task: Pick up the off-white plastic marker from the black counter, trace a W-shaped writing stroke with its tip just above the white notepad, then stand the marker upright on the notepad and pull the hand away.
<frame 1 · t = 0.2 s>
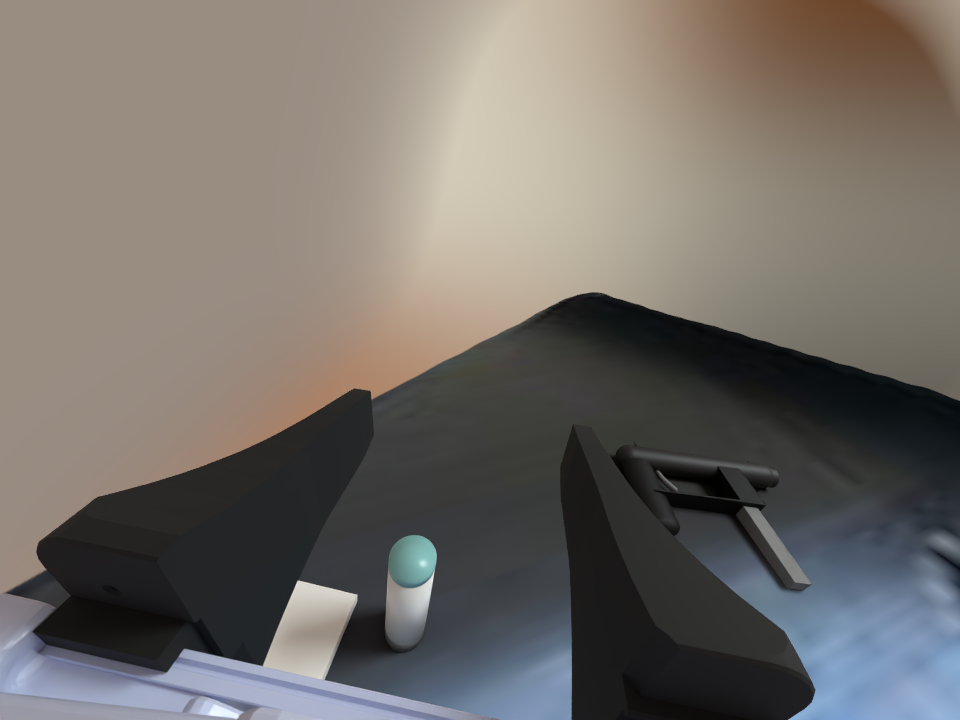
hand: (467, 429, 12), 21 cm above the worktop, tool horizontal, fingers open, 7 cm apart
door handle: (711, 515, 40), on the worktop
marker: (404, 628, 25), on the worktop
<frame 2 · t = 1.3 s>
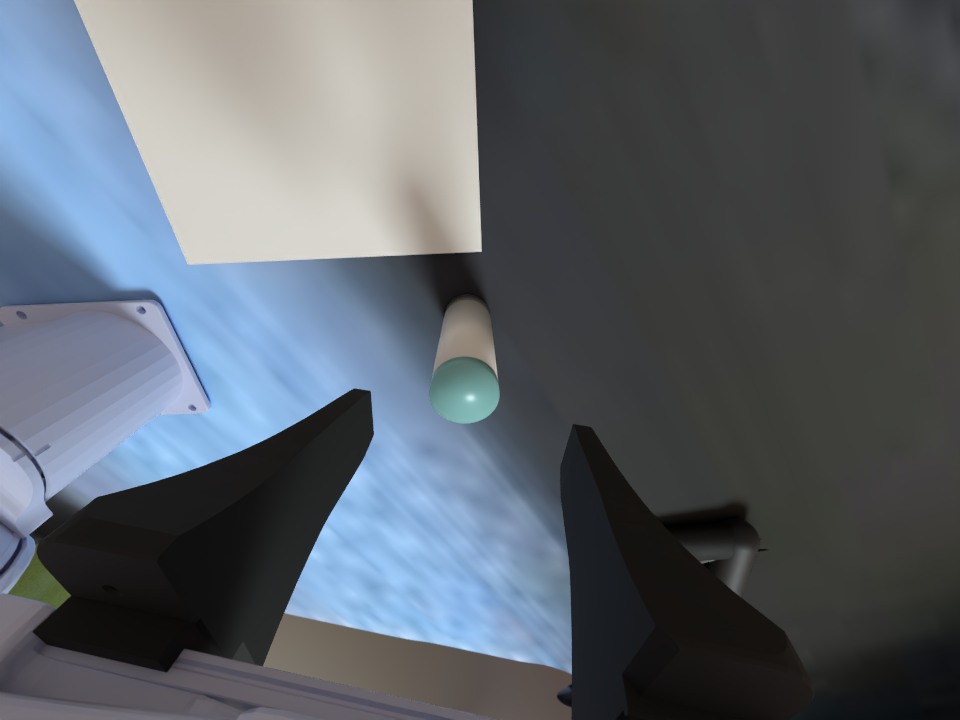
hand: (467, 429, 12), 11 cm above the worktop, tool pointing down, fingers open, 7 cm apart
door handle: (656, 577, 36), on the worktop
marker: (467, 316, 22), on the worktop
notepad: (310, 128, 17), on the worktop
plant pot: (101, 540, 32), on the worktop
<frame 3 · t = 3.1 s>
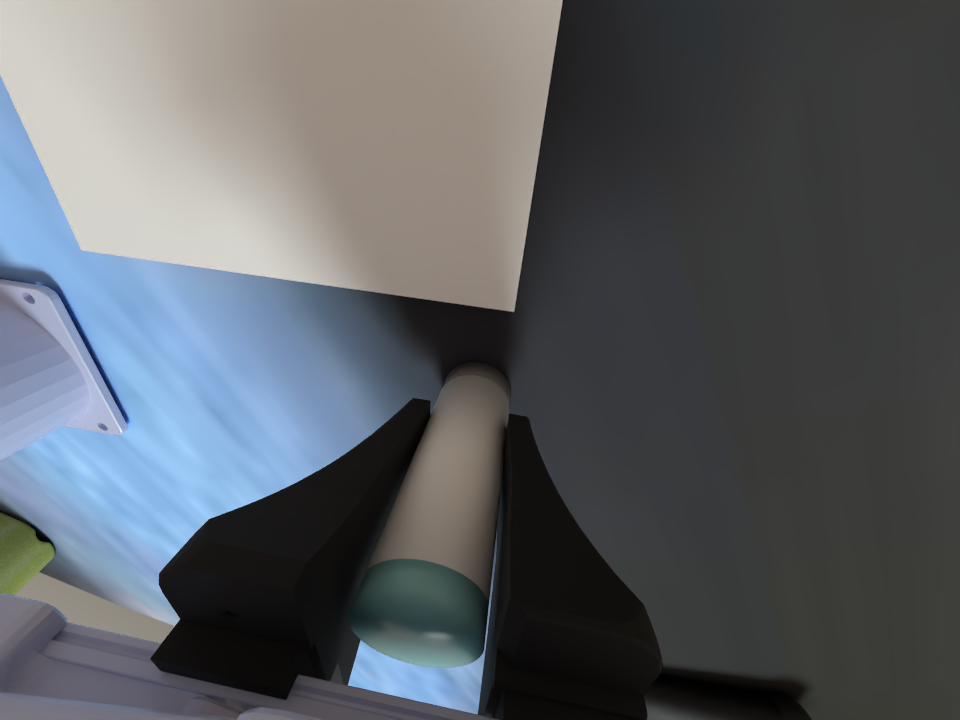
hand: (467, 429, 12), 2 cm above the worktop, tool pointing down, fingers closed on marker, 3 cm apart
door handle: (657, 717, 29), on the worktop
marker: (477, 390, 15), on the worktop, touching gripper
notepad: (267, 66, 10), on the worktop
plant pot: (20, 531, 27), on the worktop
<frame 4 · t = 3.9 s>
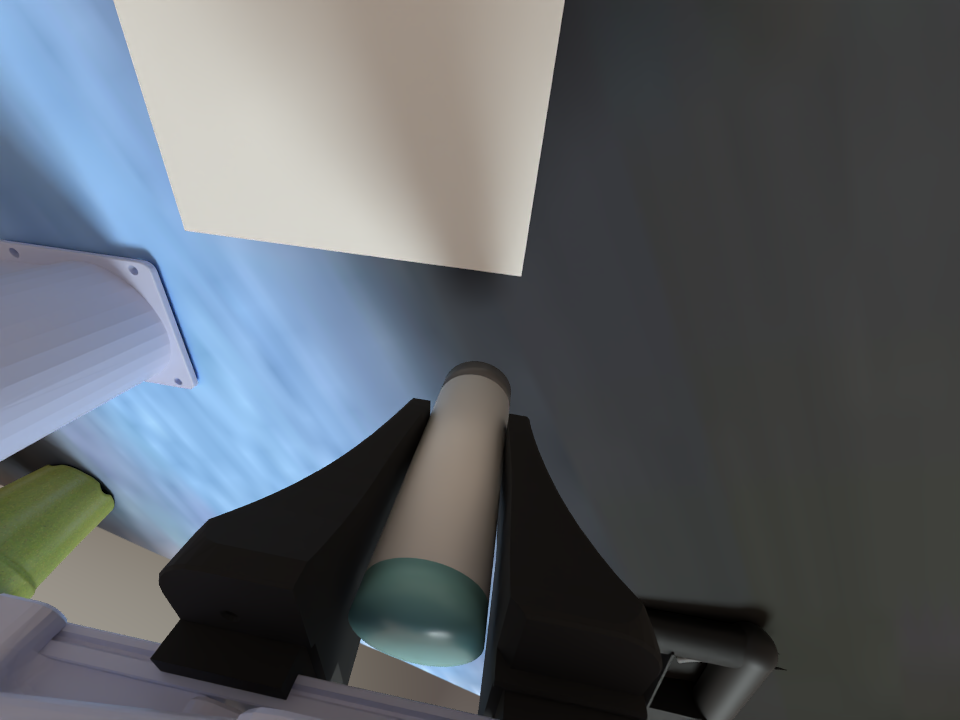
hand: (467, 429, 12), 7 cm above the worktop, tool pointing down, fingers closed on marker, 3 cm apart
door handle: (644, 656, 33), on the worktop
marker: (477, 390, 15), point 4 cm above the worktop, touching gripper
notepad: (342, 92, 14), on the worktop
plant pot: (84, 485, 31), on the worktop
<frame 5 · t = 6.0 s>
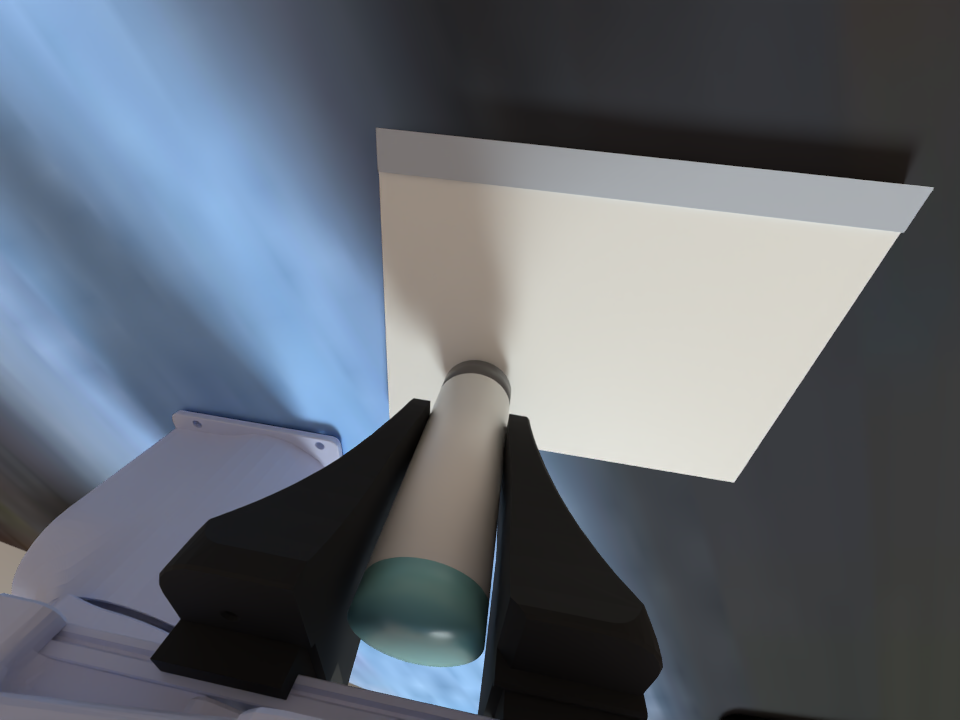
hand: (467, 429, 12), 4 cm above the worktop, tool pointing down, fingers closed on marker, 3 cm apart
marker: (477, 389, 15), point 1 cm above the worktop, touching gripper
notepad: (585, 328, 14), on the worktop
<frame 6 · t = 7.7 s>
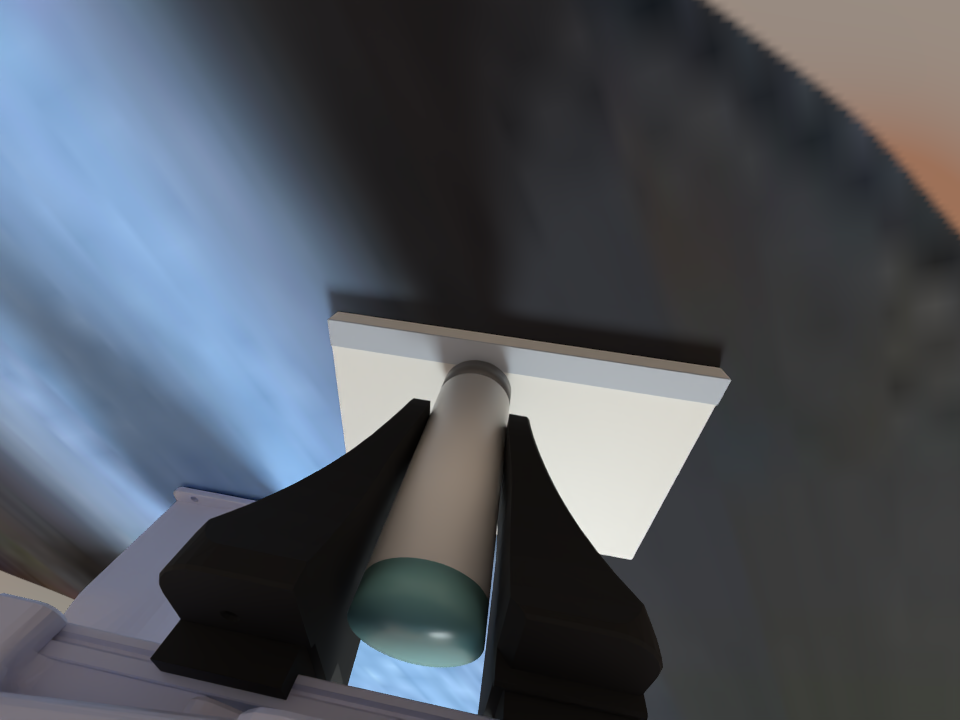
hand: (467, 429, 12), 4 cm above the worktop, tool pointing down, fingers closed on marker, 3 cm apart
marker: (477, 389, 15), point 1 cm above the worktop, touching gripper
notepad: (503, 445, 18), on the worktop
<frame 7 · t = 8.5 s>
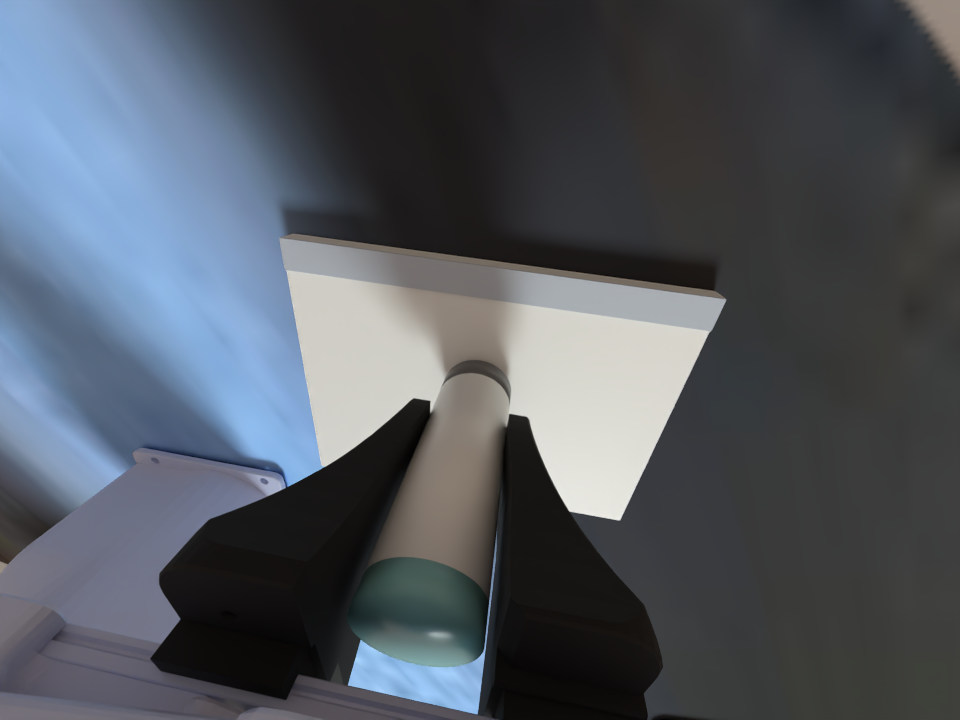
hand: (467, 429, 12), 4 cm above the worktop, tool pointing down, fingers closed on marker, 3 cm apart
marker: (477, 389, 14), point 1 cm above the worktop, touching gripper
notepad: (479, 391, 16), on the worktop
when the fingers open (4 cm above the worktop, at t = 12.2 s): marker stays where it is, resting on notepad.
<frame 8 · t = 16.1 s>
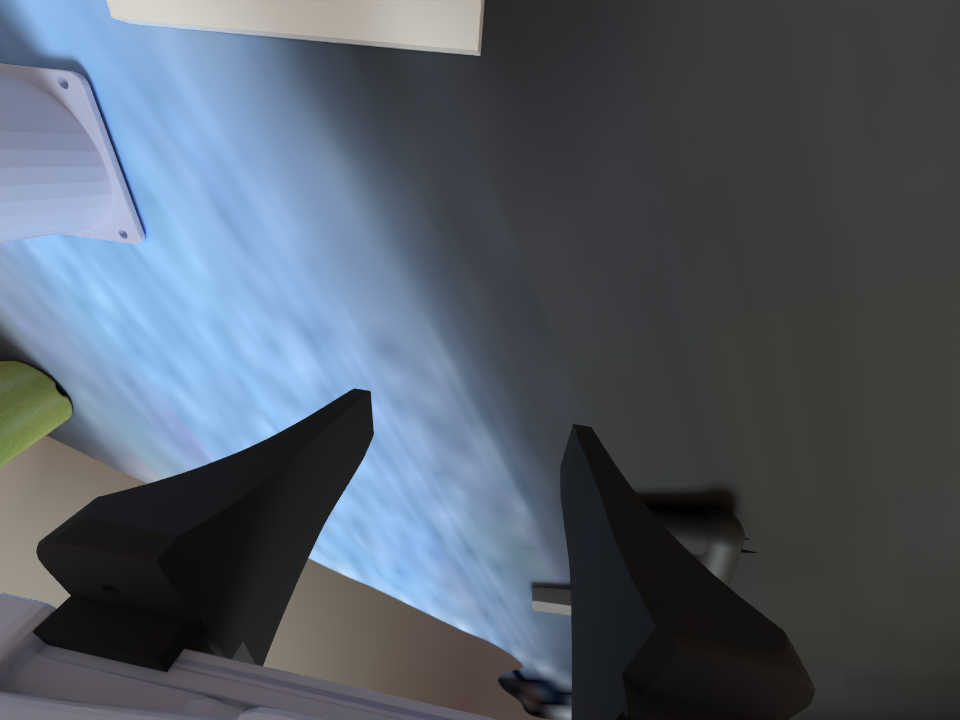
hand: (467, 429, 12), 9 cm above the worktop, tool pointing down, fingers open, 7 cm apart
door handle: (622, 569, 31), on the worktop
plant pot: (40, 389, 29), on the worktop
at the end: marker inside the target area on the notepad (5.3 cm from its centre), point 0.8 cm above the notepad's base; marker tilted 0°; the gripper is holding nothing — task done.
